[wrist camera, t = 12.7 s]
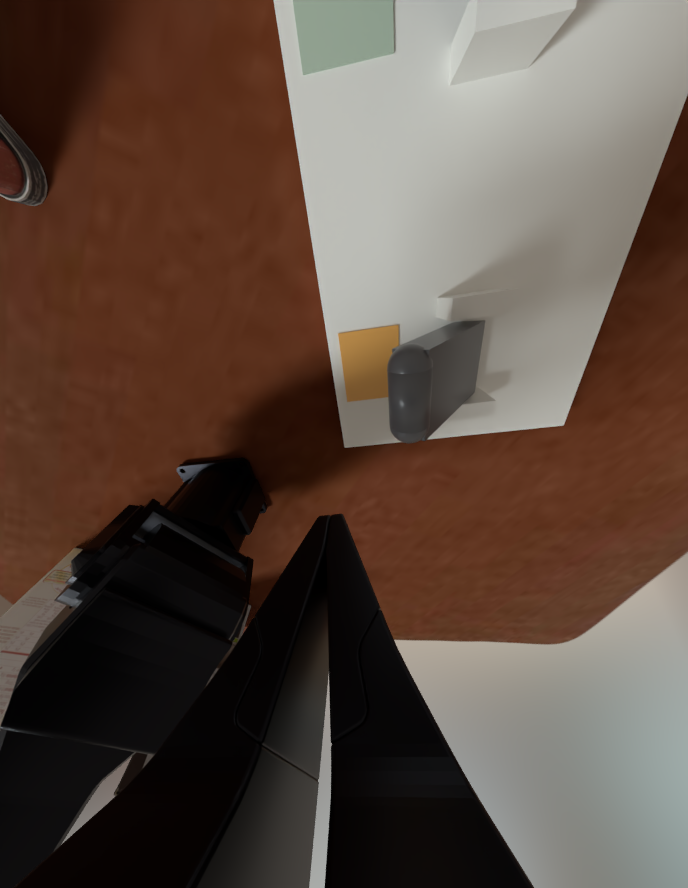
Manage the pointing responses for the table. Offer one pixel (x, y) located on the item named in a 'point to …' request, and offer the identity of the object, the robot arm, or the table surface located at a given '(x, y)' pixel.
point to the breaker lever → (432, 378)
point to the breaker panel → (476, 183)
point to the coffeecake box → (29, 624)
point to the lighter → (19, 169)
